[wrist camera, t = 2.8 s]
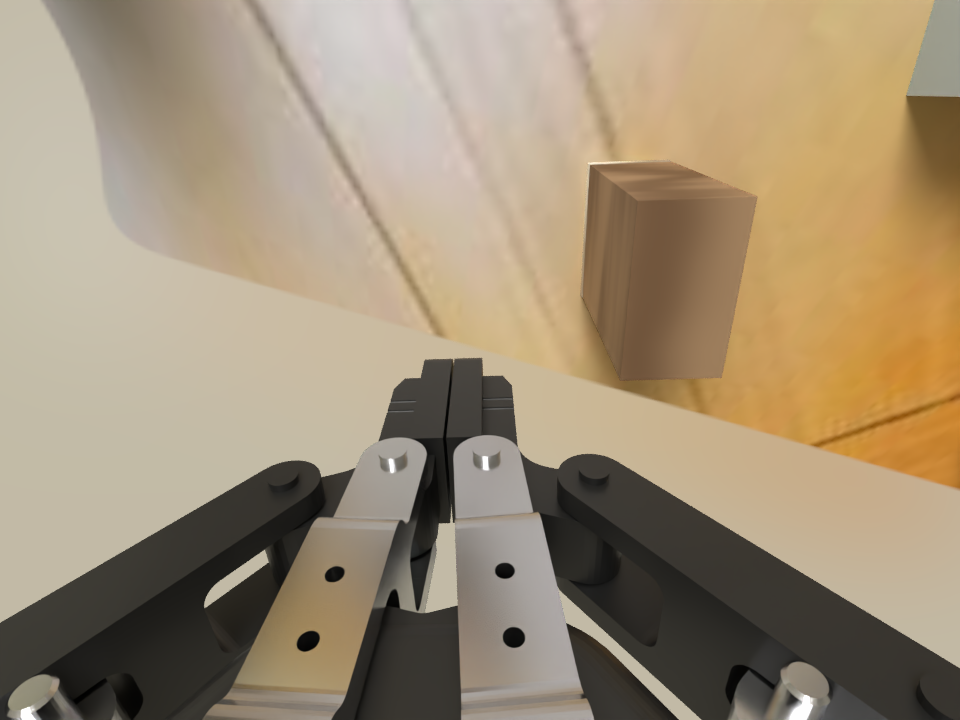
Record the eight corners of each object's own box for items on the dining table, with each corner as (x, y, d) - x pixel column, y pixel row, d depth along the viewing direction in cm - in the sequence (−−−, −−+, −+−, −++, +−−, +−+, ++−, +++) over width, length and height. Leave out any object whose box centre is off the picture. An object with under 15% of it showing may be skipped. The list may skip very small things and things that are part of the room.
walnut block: (667, 159, 27) (758, 195, 18) (652, 291, 30) (722, 378, 21) (587, 162, 27) (637, 200, 18) (580, 293, 30) (620, 381, 21)
